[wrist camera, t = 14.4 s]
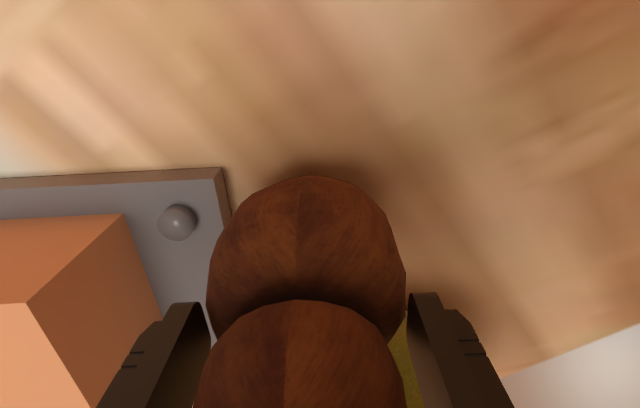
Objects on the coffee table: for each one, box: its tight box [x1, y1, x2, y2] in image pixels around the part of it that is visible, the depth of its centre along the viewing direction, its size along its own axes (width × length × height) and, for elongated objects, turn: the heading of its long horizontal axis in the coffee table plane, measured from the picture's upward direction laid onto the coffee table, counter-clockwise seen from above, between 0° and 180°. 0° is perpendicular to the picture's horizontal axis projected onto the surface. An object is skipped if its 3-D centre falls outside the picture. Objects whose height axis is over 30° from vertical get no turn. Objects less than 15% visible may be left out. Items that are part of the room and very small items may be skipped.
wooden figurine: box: [193, 175, 407, 408], centre depth 10 cm, size 7×6×15 cm
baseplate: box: [0, 167, 231, 349], centre depth 19 cm, size 16×16×2 cm
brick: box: [0, 213, 163, 408], centre depth 16 cm, size 6×13×6 cm, turn 3°
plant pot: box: [387, 310, 425, 408], centre depth 18 cm, size 9×9×9 cm
